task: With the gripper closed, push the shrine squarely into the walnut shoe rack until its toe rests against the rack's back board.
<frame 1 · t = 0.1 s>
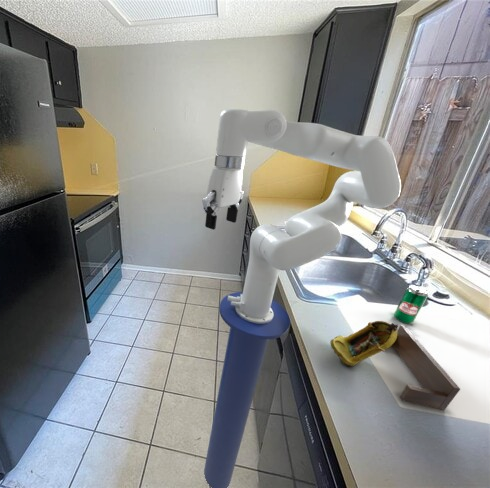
hand: (220, 224, 74), 30 cm above the worktop, tool pointing down, fingers open, 9 cm apart
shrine: (350, 360, 69), on the worktop
shoe rack: (396, 368, 67), on the worktop
soda can: (402, 319, 86), on the worktop
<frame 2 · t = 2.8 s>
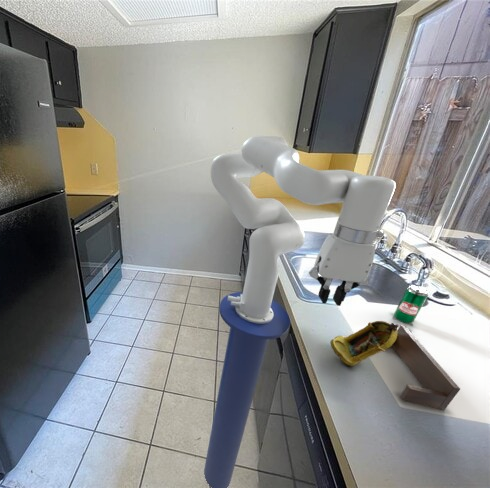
hand: (329, 300, 64), 17 cm above the worktop, tool pointing down, fingers closed
nothing on the worktop moved.
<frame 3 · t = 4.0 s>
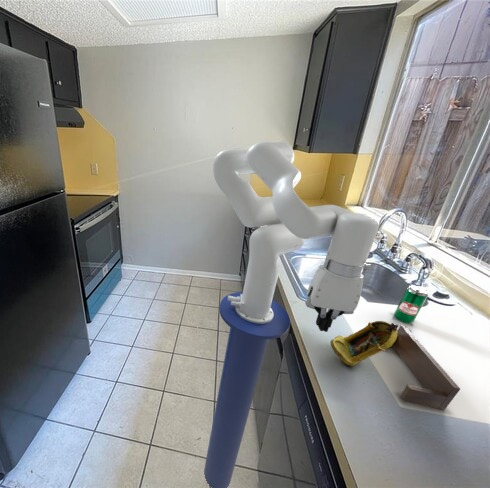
hand: (321, 327, 67), 9 cm above the worktop, tool pointing down, fingers closed
nothing on the worktop moved.
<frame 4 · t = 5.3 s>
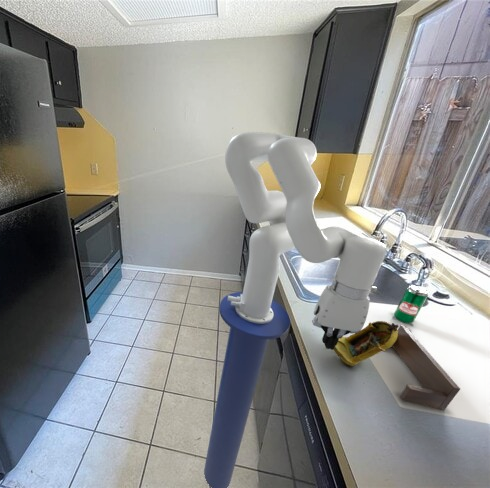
hand: (327, 345, 69), 3 cm above the worktop, tool pointing down, fingers closed
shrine: (351, 360, 69), on the worktop, touching gripper
everything else where it was.
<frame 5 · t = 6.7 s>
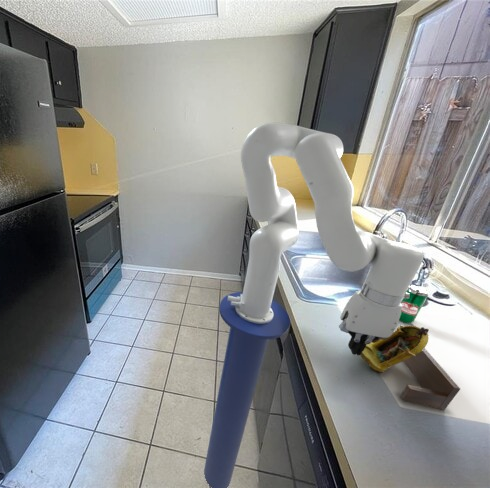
hand: (354, 350, 68), 3 cm above the worktop, tool pointing down, fingers closed
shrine: (379, 366, 68), on the worktop, touching gripper
everything else where it was.
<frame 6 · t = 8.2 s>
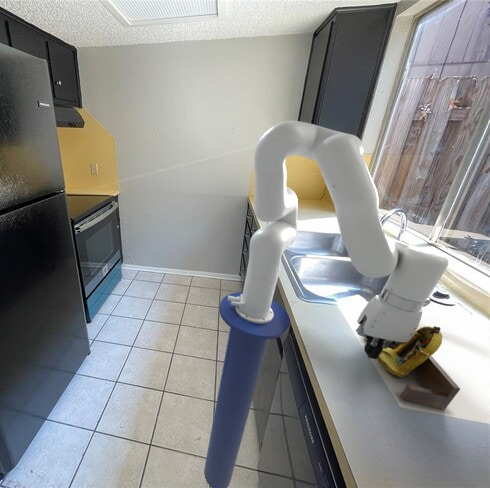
hand: (369, 354, 68), 2 cm above the worktop, tool pointing down, fingers closed
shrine: (401, 373, 66), on the worktop, touching gripper, shoe rack
everything else where it was.
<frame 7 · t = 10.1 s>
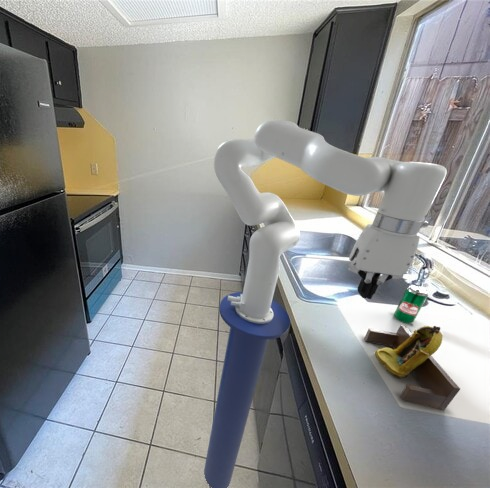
hand: (364, 295, 62), 20 cm above the worktop, tool pointing down, fingers closed
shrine: (401, 373, 66), on the worktop, touching shoe rack
everything else where it was.
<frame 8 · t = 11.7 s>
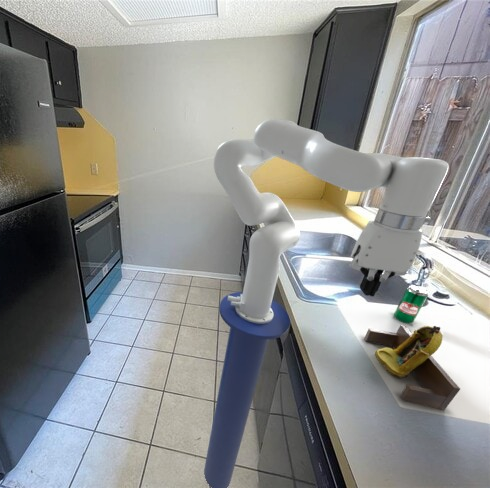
hand: (366, 292, 61), 21 cm above the worktop, tool pointing down, fingers closed
nothing on the worktop moved.
at the end: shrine inside the target area (1.9 cm from its centre), on the worktop; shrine tilted 14°; soda can moved 0.2 cm from its start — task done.
